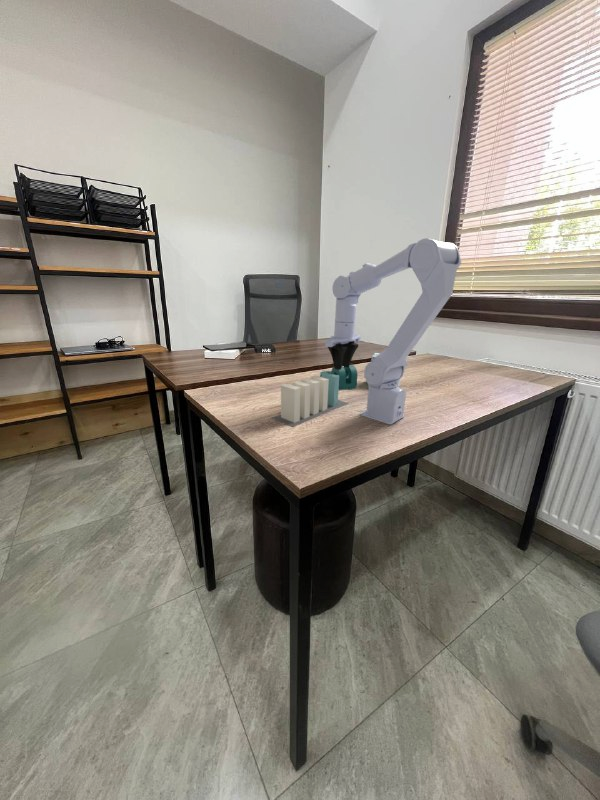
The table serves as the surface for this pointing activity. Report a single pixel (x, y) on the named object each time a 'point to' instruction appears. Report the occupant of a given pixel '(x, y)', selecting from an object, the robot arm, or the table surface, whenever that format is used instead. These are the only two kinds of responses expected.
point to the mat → (311, 416)
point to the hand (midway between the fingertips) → (341, 367)
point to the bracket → (345, 377)
